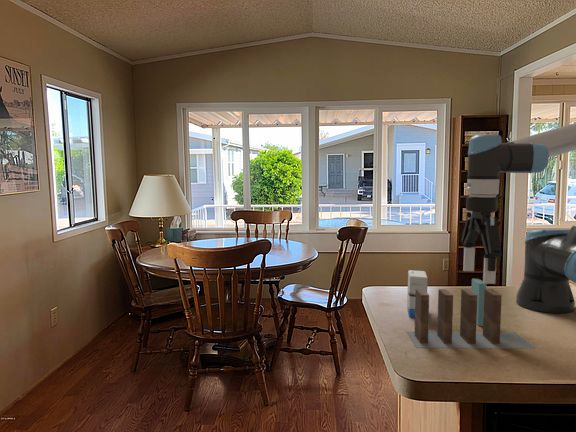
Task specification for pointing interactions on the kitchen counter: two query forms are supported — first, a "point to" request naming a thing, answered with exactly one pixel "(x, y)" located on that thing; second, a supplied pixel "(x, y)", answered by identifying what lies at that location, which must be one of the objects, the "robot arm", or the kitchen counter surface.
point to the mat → (481, 342)
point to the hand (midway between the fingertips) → (478, 276)
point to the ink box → (415, 282)
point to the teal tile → (479, 299)
